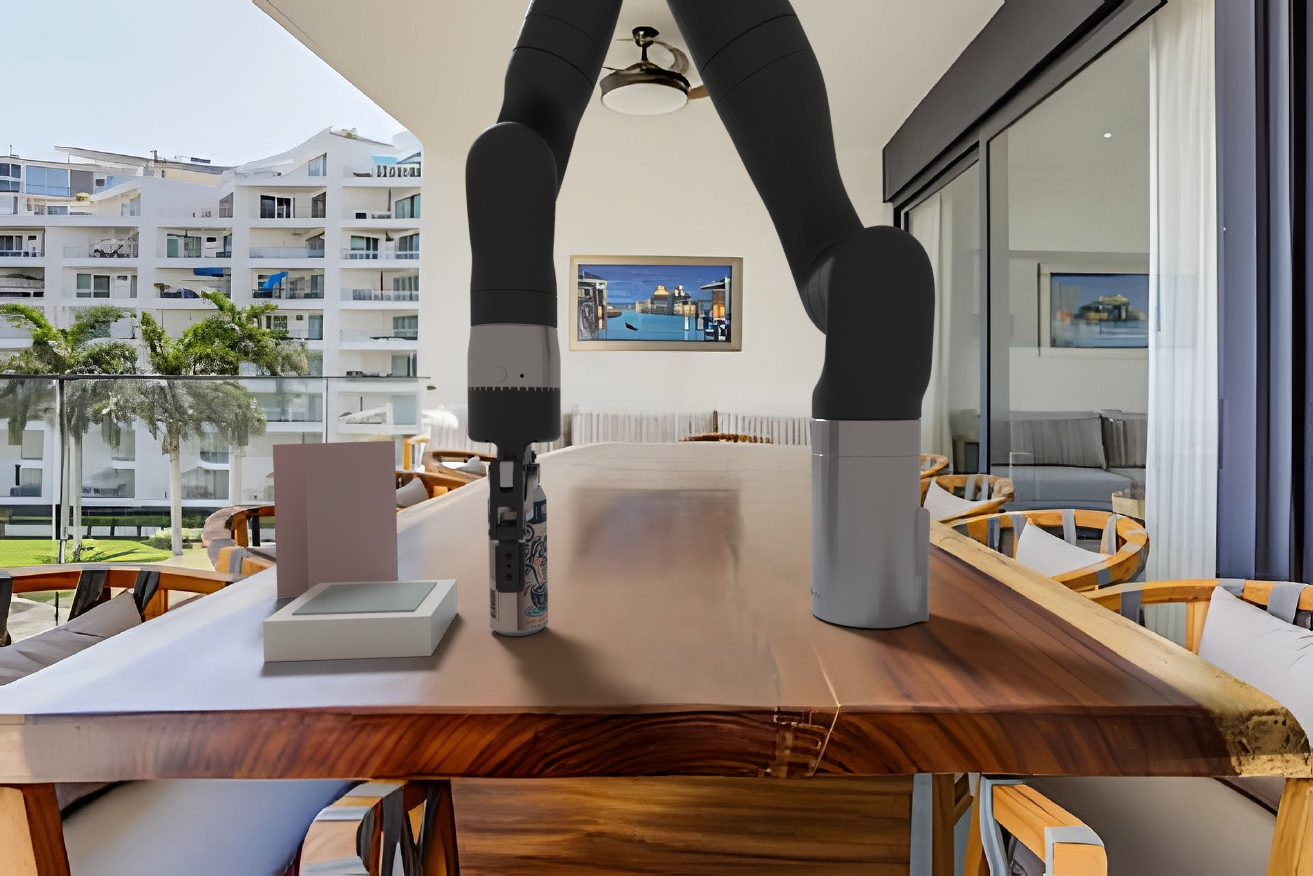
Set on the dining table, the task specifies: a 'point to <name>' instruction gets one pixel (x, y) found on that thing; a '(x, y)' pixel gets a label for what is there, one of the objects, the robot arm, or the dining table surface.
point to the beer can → (530, 605)
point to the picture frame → (362, 621)
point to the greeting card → (334, 514)
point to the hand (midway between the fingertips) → (515, 579)
